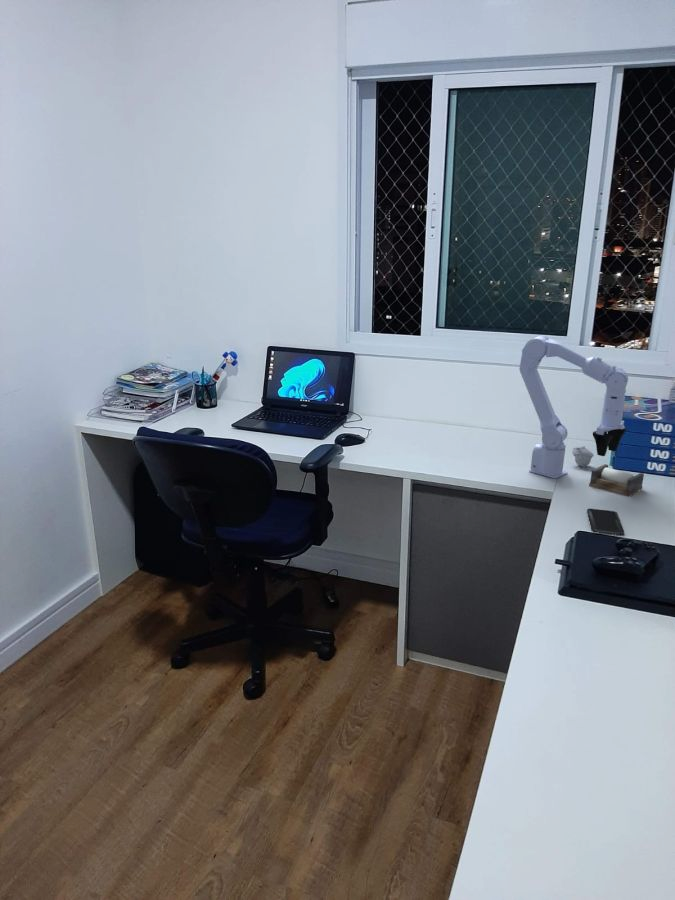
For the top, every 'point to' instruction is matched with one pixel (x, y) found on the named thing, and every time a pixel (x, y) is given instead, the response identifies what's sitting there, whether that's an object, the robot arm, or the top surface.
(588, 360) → the robot arm
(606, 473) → the paper roll
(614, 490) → the roll holder
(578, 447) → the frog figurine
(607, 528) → the phone
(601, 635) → the top surface
